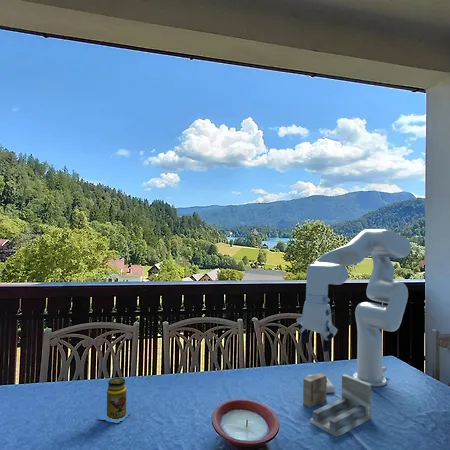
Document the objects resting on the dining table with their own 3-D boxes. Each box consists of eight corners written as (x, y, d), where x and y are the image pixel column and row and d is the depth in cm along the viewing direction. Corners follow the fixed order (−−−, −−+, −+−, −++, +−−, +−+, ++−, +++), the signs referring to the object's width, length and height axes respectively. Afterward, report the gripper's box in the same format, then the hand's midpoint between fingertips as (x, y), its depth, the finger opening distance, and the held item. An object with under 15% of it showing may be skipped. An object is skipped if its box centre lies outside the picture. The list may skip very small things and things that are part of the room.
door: (319, 397, 134) (319, 372, 134) (326, 400, 132) (326, 375, 132) (303, 404, 129) (303, 378, 129) (310, 407, 126) (310, 381, 126)
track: (344, 406, 127) (344, 374, 127) (370, 418, 119) (371, 384, 119) (310, 422, 117) (310, 387, 117) (336, 437, 109) (337, 399, 109)
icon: (301, 369, 149) (326, 370, 149) (301, 380, 149) (326, 380, 149) (309, 382, 137) (335, 382, 137) (309, 394, 137) (335, 394, 137)
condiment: (119, 424, 114) (119, 386, 114) (96, 419, 117) (96, 382, 117) (131, 413, 121) (132, 377, 121) (110, 409, 124) (110, 373, 124)
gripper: (343, 302, 126) (342, 352, 125) (304, 294, 140) (303, 339, 139) (330, 304, 121) (328, 356, 121) (291, 295, 135) (289, 342, 135)
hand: (315, 347), depth 130 cm, fingers open, 9 cm apart
